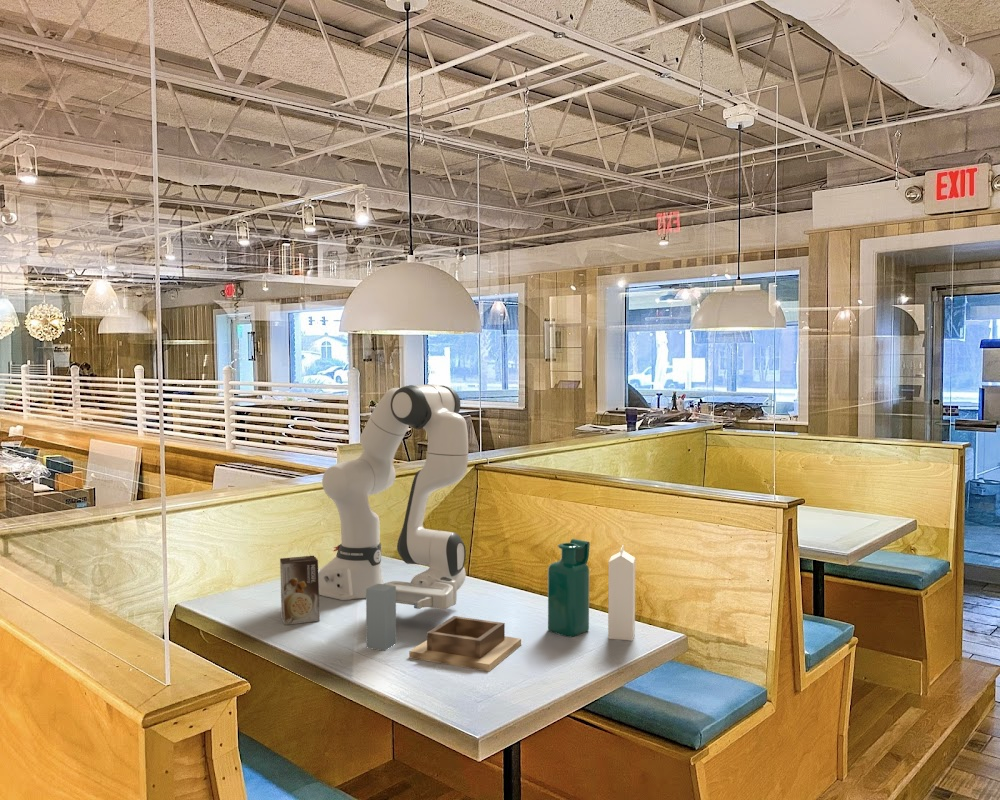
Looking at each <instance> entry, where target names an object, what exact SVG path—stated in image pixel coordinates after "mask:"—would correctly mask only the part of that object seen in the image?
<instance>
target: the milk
mask: <svg viewBox="0 0 1000 800" xmlns="http://www.w3.org/2000/svg"><path fill="white" fill-rule="evenodd" d="M607 577H608V578H607V579H608V584H607V585H608V586H607V587H608V593H607V594H608V595H607V596H608V598H607V599H608V606H607V611H608V613H607V614H608V615H607V616H608V617H607V618H608V619H607V621H608V622H607V626H608V627H607V639H609V640H621V641H634V637H635V633H636V557H635V556H633V555H631V554H630V553H628V552H627V551H625V550H624V545H622V546H621V548H620V551H619V552H617V553H615V554H613V555H611V557H610V558H609V559H608V576H607Z"/></svg>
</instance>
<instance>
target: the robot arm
mask: <svg viewBox="0 0 1000 800" xmlns="http://www.w3.org/2000/svg"><path fill="white" fill-rule="evenodd" d="M460 409H461V399H460V396H459V394H458V392H456V391H455V390H454V389H453V388H451V387H449V386H446V385H437V384H436V385H435V384H428V383H427V384H417V385H413V384H409V385H404V386H402V387H392V388H390V389H388V390H387V391H386V392H385V393H384V394H383V396H382V397H381V399H380V400H379V402H378V403H377V404H376V405H375V407H374V409H373V410H372V412H371V414H370V417H369V418H368V420H367V422H366V424H365V426H364V428H363V430H362V431H361V434H360V437H359V442H360V445H361V447H362V453H361V454H360V456H359V457H357V459H354V460H347V461H341V462H338V463H335V464H333V465H331V466H330V467H328V468H327V469H326V470H325V471H324V473H323V474H322V475H323V476H322V488H323V491H324V493H325V495H327V496H328V497H329V498H330V499H331V500H332V501H333V502H334V504H335V506H336V508H337V512H338V515H339V520H340V537H341V538H340V541H341V542H340V544H338V545H337V546H334V547H333V549H334V550H333V552H336V551H337V553H336V554H335V555H336V556H335V557H334V558H332V559H331V560H330V561H329V562H328V563H326V564H325V565H324V566H323V567H321V568H320V569H319V570H318V578H319V596H323V597H327V598H331V599H335V600H336V599H337V600H339V601H340V600H341V601H349V600H355V599H366V589H367V588H369V587H372V586H374V585H376V584H384V585H392V586H396V604H402V605H410V606H413V608H414V609H417V610H421V609H422V608H431V609H432V608H433V609H439V610H447V609H449V608H451V607H453V606H456V605H457V596H458V594H457V593H458V591H459V589H460V588H462V586H463V585H464V582H465V581H466V576H467V573H466V568H465V562H466V556H467V555H466V553H467V552H466V545H465V544H464V542H463V539H462V538H461V536H460V535H459V534H458V533H457V532H453V531H448V530H447V531H445V530H438V529H430V528H425V527H424V525H423V523H424V519H425V513H426V509H427V504H428V499H429V497H430V495H432V493H434V492H435V491H437V490H441V489H444V488H447V487H450V486H453V485H455V484H457V483H459V482H460V480H462V479H463V478H464V476H465V475H466V473H467V470H468V465H469V464H468V463H469V462H468V461H469V434H468V426H467V421H466V419H465V418H464V416H462V415H461V414H459V413H460ZM409 427H411V428H413V429H415V430H417V431H419V430H421V429H423V430H425V432H426V435H427V449H426V450H427V451H426V458H425V462H424V465H423V467H422V468H421V469H419V470H418V471H416V473H415V474H414V477H413V480H412V484H411V487H410V492H409V496H408V501H407V505H406V511H405V516H404V521H403V525H402V529H401V531H400V534H399V537H398V540H397V544H396V548H397V549H396V550H397V554H398V555H399V557H400V558H401V559H402V562H404V563H405V564H407V565H423V566H429V567H428V569H426V570H425V571H421V572H420V573H417V574H416V575H414V576H413V577H412V578H411V580H410V582H407V581H398V580H397V581H396V580H392V581H387V582H385V583H384V578H383V573H382V565H381V561H382V543H381V542H380V541H381V540H380V536H381V535H380V534H381V533H380V529H381V528H380V517H379V515H378V514H377V513H376V512H375V511H373V510H372V508H371V506H370V503H369V496H373V495H377V494H381V493H382V492H384V491H386V490H388V489H389V488H391V487H392V486H393V485H394V483H395V481H396V476H397V473H396V469H395V466H394V459H395V455H396V453H397V450H398V449H399V446H401V442H402V441H403V439H404V438H405V437H404V436H405V435H406V433H407V432H408V430H409Z"/></svg>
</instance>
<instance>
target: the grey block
mask: <svg viewBox="0 0 1000 800" xmlns="http://www.w3.org/2000/svg"><path fill="white" fill-rule="evenodd" d="M384 584H385V583H384ZM384 584H376V585H374V586H372V587H369V588H367V589H366V598H365V600H366V601H365V604H366V605H365V607H366V608H365V610H366V611H365V613H366V614H365V616H366V617H365V618H366V624H365V625H366V631H365V632H366V648H367V647H368V648H367V649H371V648H373V649H372V650H376V649H379V651H382V650H384V652H385V651H387V650H389V649H391V648H392V647H393V645H394V644H395V645H397V612H396V611H397V603H396V586H392V585H384ZM395 645H394V646H395ZM391 646H392V647H391ZM388 648H389V649H388Z"/></svg>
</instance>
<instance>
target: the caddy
mask: <svg viewBox="0 0 1000 800" xmlns="http://www.w3.org/2000/svg"><path fill="white" fill-rule="evenodd" d="M505 626H506V625H505V622H498V621H493V620H492V621H491V620H487V619H486V620H485V619H478V618H471V617H464V616H458V615H453V616H452V617H450V618H448V619H447V620H445V621H444V622H442V623H440V624H438V625H437V626H436V627H434V628H432V629H431V630H428V631H427V632H426V640H425V641H423V642H421V643H420V644H419V645H417V646H415V647H413V648H412V649H411V650H409V657H408V658H409V659H415V660H420V661H427V662H432V663H433V662H434V663H436V664H437V663H438V664H444V665H450V666H456V667H462V668H468V669H474V670H480V671H485V672H486V671H487V672H490V671H491V670H493V669H494V668H495V667H496V666H498V665H499V664H500V663H501V662H503V661H504V659H506V658H507V657H508V656H510V655H511V654H512V653H514V651H516V650H517V649H518V648H519V647H521V646H522V638H520V637H519V638H517V637H511V636H506V634H505V628H506V627H505Z"/></svg>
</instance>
